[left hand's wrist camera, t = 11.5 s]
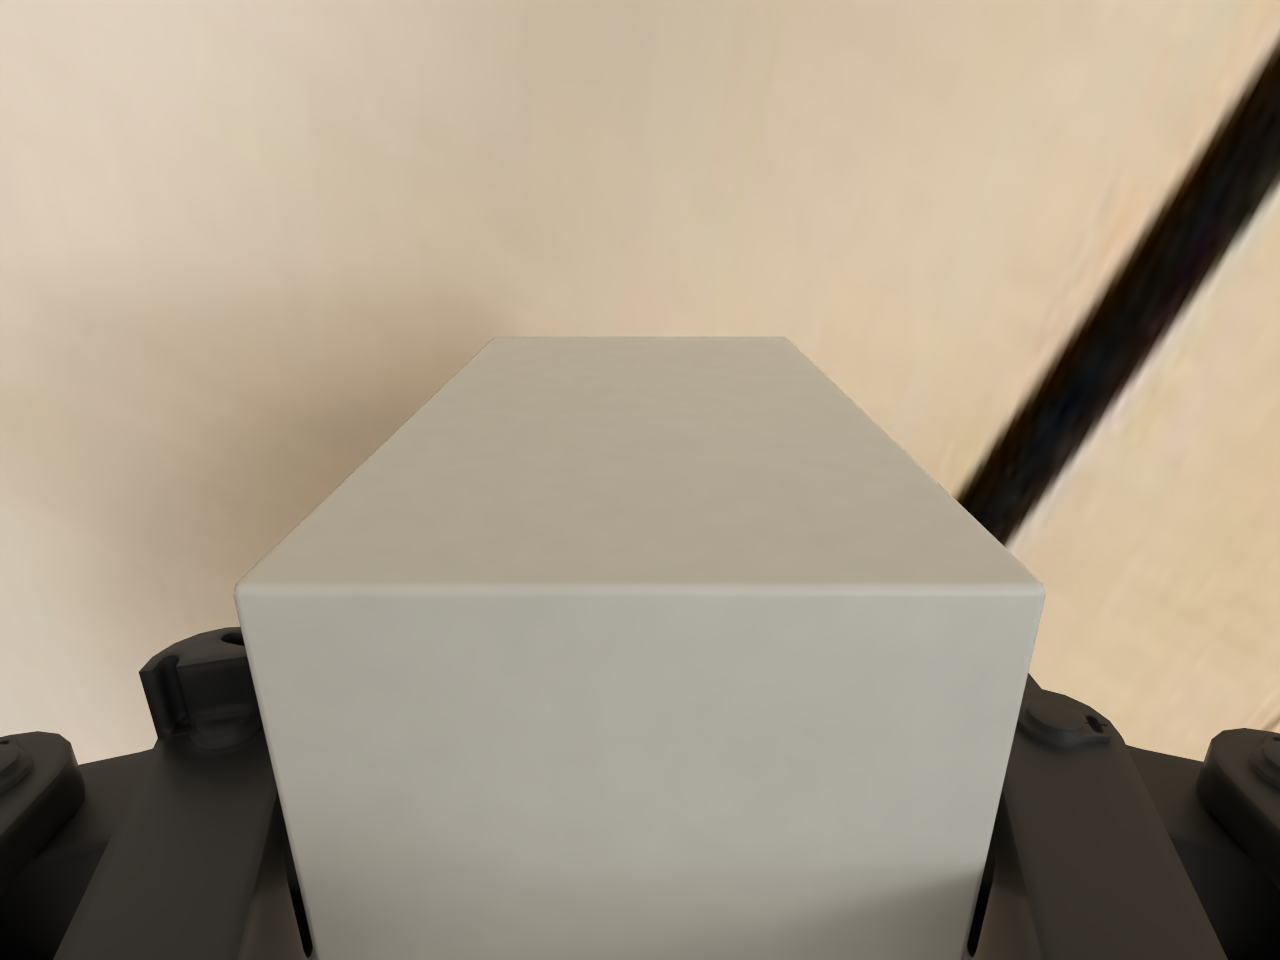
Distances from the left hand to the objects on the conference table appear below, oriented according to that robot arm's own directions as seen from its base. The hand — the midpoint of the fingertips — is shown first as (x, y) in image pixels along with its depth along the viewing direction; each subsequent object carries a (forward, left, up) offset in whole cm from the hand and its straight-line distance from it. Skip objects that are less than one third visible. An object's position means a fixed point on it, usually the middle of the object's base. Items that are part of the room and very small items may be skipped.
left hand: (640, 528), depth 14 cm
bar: (+8, -4, -1) cm, 9 cm away
